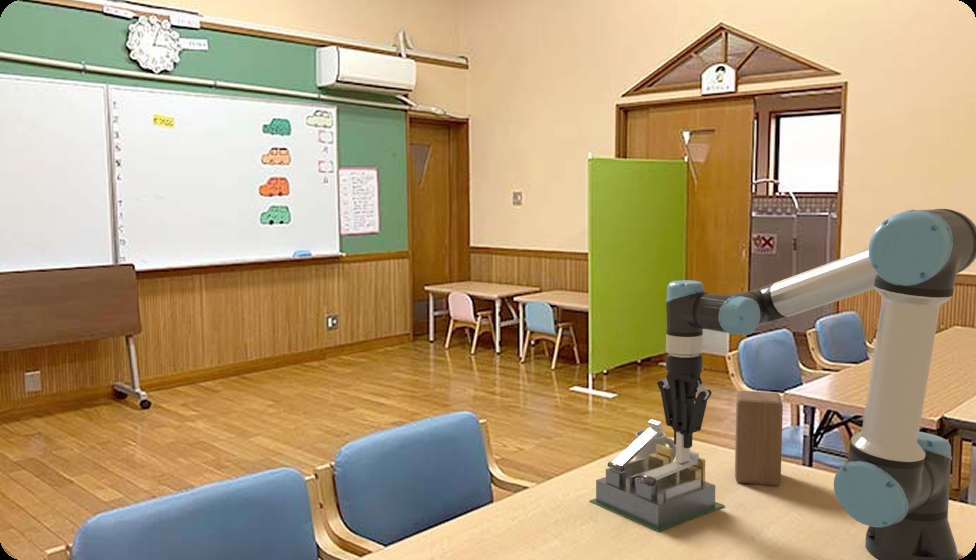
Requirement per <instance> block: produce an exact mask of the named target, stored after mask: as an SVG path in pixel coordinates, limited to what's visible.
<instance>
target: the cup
mask: <svg viewBox="0 0 976 560" xmlns="http://www.w3.org/2000/svg"><path fill="white" fill-rule="evenodd" d="M646 430H647V429H642V430H638V431H636V432H635V440H636V439H638V438H639V437H640V436H641V435H642V434H643V433H644V432H645V431H646ZM666 436H667V434H666V432H663V431H662V432H661V433H660V434H659V435H658V436H656V437H655V438H654V439H653V440H652V441H651V442H650V443H649V444H648V445H647V446H646V447H645V448H644V449H643V450H642V451H641V452H639V453H638V454H637V455H636V456H635V460H638V459H641V458H644V459H645V465H646V464H648V463H649V455H650V454H653V453H656V445H657V444H660V445H663V446H666V444H667V445H668V447H669V448H672V449H673V461H674V460H675V459H676V445H675V444H674V439H673V438H671V437H668V436H667V437H666ZM666 447H667V446H666Z"/></svg>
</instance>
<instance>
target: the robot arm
mask: <svg viewBox="0 0 976 560" xmlns="http://www.w3.org/2000/svg"><path fill="white" fill-rule="evenodd" d="M870 237H871V238H870V239H869V243H868V248H866V249H863V250H860V251H858V252H855V253H851V254H850V255H847V256H844V257H842V258H838V259H836V260H834V261H831V262H828V263H825V264H822V265H820V266H817V267H814V268H812V269H809V270H807V271H803V272H801V273H798V274H796V275H792V276H790V277H787V278H784V279H782V280H778V281H776V282H774V283H770V284H767V285H765V286H762V287H760V288H757V289H753V290H749V291H741V292H735V293H729V294H720V293H711V292H710V293H709V292H705V288H704V284H703V282H702V281H698V280H693V279H692V280H691V279H690V280H688V279H687V280H686V279H685V280H683V279H681V280H674V281H673V280H672V281H671V282H669V283H668V284H667V287H666V288H667V289H666V300H665V306H666V308H665V309H666V310H665V311H666V333H665V334H666V335H665V336H666V337H665V352H666V356H665V370H666V371H667V373H666V377H665V379H662V380H659V381H657V387H658V389H659V390H660V395H661V402H662V408H663V412H664V413H663V414H664V418H665V424H666V426H667V427H671V428H672V430H673V441H674V444H675V445H676V456H675V461H677V462H679V463H684V462H687V461H690V451H691V448H692V447H693V434H694V433H696V432H700V431H701V430H702V425H703V422H704V416H705V412H706V409H707V408H706V407H707V404H708V400H709V398H710V397H711V396H712V390H710V389H706V388H705V387H704V386H703V381H702V378H701V374H702V372H703V356H702V353H703V341H704V340H703V335H704V334H703V332H704V330H708V331H713V332H720V333H726V334H730V335H733V336H735V335H742V336H749V335H751V334H752V333H754V331H755V330H756V329H757V328H758V327H759V326H764V325H771V324H775V323H777V322H779V321H781V320H784V319H786V318H789V317H792V316H795V315H799V314H801V313H804V312H807V311H810V310H811V311H812V310H814V309H816V308H821V307H823V306H827V305H828V304H829V305H830V304H832V303H835V302H839V301H841V300H844V299H849V298H851V297H854V296H857V295H860V294H862V293H866V292H869V291H872V290H876V292H877V293H878V294H879V296H881V304H880V309H879V317H878V324H877V329H876V330H877V331H876V336H875V343H874V351H873V357H872V364H871V369H870V370H871V371H870V376H869V383H868V390H867V394H866V396H867V397H866V402H865V407H864V415H863V421H862V427H861V430H860V431H859V432H857V433H855V434H854V435H852V436H851V439H850V442H849V449H848V455H847V462H845V463H844V464H842V465H841V466H840V467H839V469H838V470H837V472H836V473H835V476H834V479H833V491H834V496H835V497H836V500H837V502H838V503H839V505H841V506H842V508H843V510H844V511H845V513H846V514H847V515H848V516H850V518H852V519H853V520H855V521H856V522H858V523H860V524H862V525H865V526H868V528H867V530H866V533H865V540H864V541H865V544H864V545H865V549H866V550H867V551H868V553H869V554H871V556H873V557H874V558H876V559H877V560H958V558H957V557H958V548H957V544H956V541H955V538H954V535H953V532H952V528H951V525H950V522H949V500H950V485H951V483H950V482H951V468H952V467H951V465H952V460H953V456H952V446H951V444H950V442H949V441H948V440H947V439H945V438H943V437H942V436H938V435H936V434H932V433H928V432H923V431H920V427H921V421H922V417H923V410H924V404H925V397H926V391H927V386H928V380H929V374H930V367H931V362H932V357H933V356H932V355H933V350H934V349H933V348H934V343H935V338H936V334H937V333H936V332H937V327H938V320H939V315H940V309H941V306H942V305H943V304H945V303H946V302H948V301H949V300H951V299H952V298H953V295H954V292H955V291H954V290H955V285H956V279H957V274H959V273H961V272H963V271H965V270H967V268H969V267H970V266H971V265H972V264H973V263H974V261H975V260H976V224H975V223H974V222H973V220H972V219H971V218H969V217H968V216H967V215H965V214H964V213H962V212H959V211H957V210H953V209H948V208H936V209H910V210H905V211H902V212H899V213H897V214H894V215H892V216H889V217H887V219H885V220H883V221H882V222H881V223H880V224H879V225H878V226H877V228H876V229H875V230H874V231H873V233H872V235H871V236H870Z"/></svg>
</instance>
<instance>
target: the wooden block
mask: <svg viewBox="0 0 976 560" xmlns="http://www.w3.org/2000/svg"><path fill="white" fill-rule="evenodd" d="M735 398H736V399H735V400H736V403H735V404H736V406H735V407H736V408H735V411H736V412H735V443H734V444H735V445H734V447H735V450H734V453H735V455H734V457H735V458H734V474H735V475H734V479H735V481H736V482H737V483H742V484H751V485H752V484H753V485H763V486H774V487H777V486H780V485H781V482H782V481H781V480H782V478H781V476H782V451H783V449H782V448H783V447H782V446H783V444H782V443H783V411H784V409H783V408H784V406H783V405H784V404H783V401H782V397H781V395H780V393H778V392H771V391H770V392H769V391H754V390H753V391H751V390H739V391H737V393H736V397H735Z"/></svg>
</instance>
